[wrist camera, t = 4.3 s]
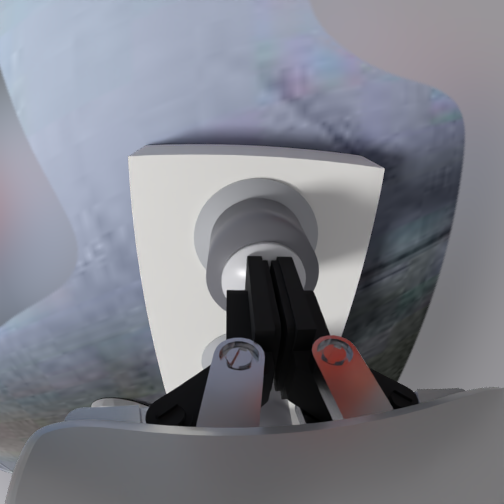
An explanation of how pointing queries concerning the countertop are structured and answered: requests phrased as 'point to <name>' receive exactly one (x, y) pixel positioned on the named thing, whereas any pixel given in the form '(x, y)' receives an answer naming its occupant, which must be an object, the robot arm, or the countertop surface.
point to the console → (207, 212)
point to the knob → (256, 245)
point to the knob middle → (275, 411)
